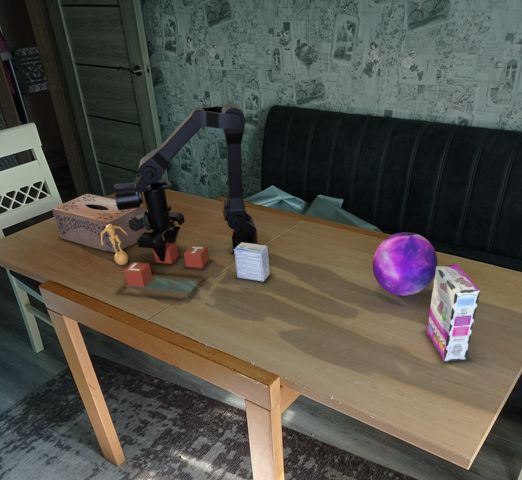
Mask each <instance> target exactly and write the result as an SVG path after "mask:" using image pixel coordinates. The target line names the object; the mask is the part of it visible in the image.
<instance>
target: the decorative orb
mask: <svg viewBox="0 0 522 480" xmlns="http://www.w3.org/2000/svg"><path fill="white" fill-rule="evenodd" d="M437 256H438V255H437V252H436V249H435V247H434V245H432V243H431V242H430V241H429V240H428V239H427V238H425V237H424V236H423V235H421V234H418V233H415V232H410V231H405V232H404V231H403V232H396V233H394V234H392V235H390V236H388V237H387V238H386V239H384V240H383V241H382V242H381V243H380V244H379V245H378V247H377V248H376V250H375V252H374V254H373V258H372V272H373V276H374V278H375V280H376V282H377V283H378V285H379V286H380V287H381V288H382V289H383V290H385V291H386V292H388V293H390V294H392V295H395V296H401V297H402V296H404V297H405V296H406V297H407V296H412V295H415V294H418V293H420V292H422V291H424V290H425V289H426V288H427V287H428V286H429V285H430V284H431V283H432V282H433V281H434V278H435V271H436V267H437V266H438V265H439V264H438V263H439V262H438V257H437Z"/></svg>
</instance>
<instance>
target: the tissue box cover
mask: <svg viewBox="0 0 522 480" xmlns="http://www.w3.org/2000/svg"><path fill="white" fill-rule="evenodd" d="M140 205H141V206H140V208H135V209H127V210H118V208H117V205H116V198H115V199H114V198H111V197H110V198H109V197H105V196H100V195H96V194H91V193H85V194H82V195H80V196H78V197H75V198H73V199H71V200H69V201H66V202H63V203H62V204H59V205H57V206H55V207H53V208H51V211H52V215H53V218H54V220H55V224H56V227H57V230H58V233H59V237H60V239H63V240H66V241H69V242H73V243H76V244H80V245H83V246H87V247H90V248H93V249H97V250H101V251H104V252H111V253H115V254H116V251H115V249H114V248H113V244H112V243H111V241H110V240H109V237H111V236H110V235H109V233H108V232H107V231H106V232H105V233H104V234H103V235H102V236H103V237H102V238H103V241H102V242H103V245H102V244H101V233H102V232H103V231H104V229H105V228H106V226H107V225H108V224H112V225H113V226H119V227H121V228H122V229H123V230H124V231H125V232H126V233H127V235H128V236H127V235H126V233H124V232H123V231H122V230H121V229H120V228H115V236H116V235H118V238H119V239H120V241H121V245H120V247H121V249H122V250H123V249H125V248H127V247H131V246H133V245H136V244H137V239H138V238H139V237H140V236H141V235H142V234H143V233H144V232H149V230H146V228H143V229H140V230H138V231H137V232H135V230H134V231H133V230H131V229H130V228H129V221H128V220H129V219H131V218H134V217H136V216H138V215H140V214H143V213H144V212H145V210H144V209H145V208H144V205H143V204H140ZM114 240H115V246H116V247H115V248H116V250H117V251H118V252H119V251H120V249H119V247H118V244H119V242H117V241H116V239H114Z"/></svg>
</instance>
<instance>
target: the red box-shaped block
mask: <svg viewBox="0 0 522 480" xmlns="http://www.w3.org/2000/svg"><path fill="white" fill-rule="evenodd" d="M152 251H153V254H154V255H153V256H154V261H155V263H159V264H173V263H174V262H175V260H176V259H177V258H178V257H179V252H178V246H177V242H175V243H168V242H167V249H166V257H165V261H164V262H161V261H160V259H159V257H158V256H157V254H156V252H155V251H154V249H152Z"/></svg>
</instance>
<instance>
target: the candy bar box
mask: <svg viewBox="0 0 522 480" xmlns="http://www.w3.org/2000/svg"><path fill="white" fill-rule="evenodd" d="M480 294H481V289H480V288H479V287H478V285H476V284H475V283H474V281H473V279H471V278H470V276H469V275H468V274H467V273H466V272H465V271H464V270H463V268H462V267H461V266H460V264H447V265H437V267H436V271H435V276H434V278H433V285H432V292H431V299H430V307H429V313H428V319H427V327H426V334H427V336H428V337H429V339H430V341H431V342H432V344H433V345H434V347H435V349H436V350H437V352H438V354H439V356H440V357H441V359H442V361H443V362H452V361H453V362H455V361H463V360H467V357H468V352H469V348H470V347H469V346H470V341H471V337H472V332H473V327H474V322H475V317H476V312H477V307H478V303H479V297H480Z"/></svg>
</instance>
